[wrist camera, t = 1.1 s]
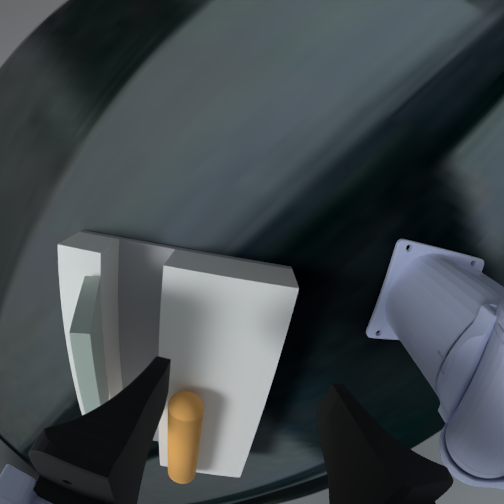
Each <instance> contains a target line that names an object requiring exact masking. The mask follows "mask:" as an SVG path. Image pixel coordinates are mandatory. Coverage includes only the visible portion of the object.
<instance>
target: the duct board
mask: <svg viewBox="0 0 504 504" xmlns="http://www.w3.org/2000/svg"><path fill="white" fill-rule="evenodd" d="M58 268H59V283H60V295H61V305H62V314H63V322H64V330H65V337H66V343H67V349H68V355H69V360H70V366H71V371H72V375H73V380H74V385H75V389H76V393H77V397H78V401H79V405H80V409H81V413H82V415H84V414H85V411H84V407H83V403H82V398H81V394H80V390H79V385H78V380H77V376H76V371H75V365H74V360H73V354H72V348H71V341H70V334H69V332H70V328H71V323H72V319H73V316H74V312H75V308H76V304H77V301H78V297H79V294H80V290H81V287H82V283H83V280H84V277H85V276H98V277H100V291H101V316H102V332H103V344H104V355H105V365H106V373H107V381H108V389H109V400H110V399H111V398H113V397H114V396H115V395H117V394H118V393H119V392H120V391H122V390H123V389H124V388H125V387H126V386H128V385H129V384H130V383H131V382H132V381H133V380H134V379H135V378H136V377H137V376H138V375H139V374H141V372H142V371H143V370H144V369H145V368H146V367H147V366H148V365H149V364H150V363H151V362H152V360H153V359H154V358H155V357H157V356H159V357H164V358H168V359H171V365H170V377H169V391H168V396H167V400H166V404H165V408H164V411H163V414H162V417H161V419H160V422H159V425H158V427H157V430H156V432H155V435H154V438H153V440H154V441H159V453H160V465H162V466H167V467H168V440H167V432H168V402H169V400H170V398H171V397H172V396H173V395H174V394H175V393H177V392H180V391H190V392H193V393H195V394H196V395H198V396H199V397H200V399H201V400H202V402H203V405H204V414H203V421H202V429H201V436H200V444H199V451H198V459H197V467H196V472H199V473H206V474H213V475H221V476H230V477H240V476H241V473H242V470H243V468H244V465H245V462H246V459H247V456H248V454H249V451H250V448H251V445H252V442H253V439H254V436H255V433H256V430H257V427H258V424H259V421H260V418H261V415H262V412H263V409H264V406H265V403H266V400H267V397H268V394H269V391H270V387H271V384H272V381H273V378H274V374H275V371H276V368H277V365H278V361H279V358H280V355H281V351H282V348H283V344H284V341H285V338H286V334H287V331H288V327H289V323H290V320H291V316H292V313H293V309H294V305H295V302H296V298H297V294H298V291H299V287H298V284H297V281H296V278H295V276H294V273H293V270H292V267H290V266H284V265H279V264H273V263H267V262H261V261H255V260H249V259H243V258H238V257H232V256H226V255H220V254H215V253H209V252H203V251H197V250H192V249H186V248H180V247H175V246H169V245H163V244H158V243H152V242H146V241H141V240H135V239H130V238H124V237H119V236H113V235H108V234H102V233H97V232H91V231H86V230H82V231H80V232H78V233H77V234H75V235H73V236H71V237H69V238H68V239H66V240H64V241H62V242H61V243H59V244H58Z"/></svg>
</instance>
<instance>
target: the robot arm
mask: <svg viewBox="0 0 504 504" xmlns="http://www.w3.org/2000/svg"><path fill="white" fill-rule="evenodd" d="M407 245H410V247H409V249H408V250H406V247H407ZM472 261H473V262H472ZM471 262H472V264H471ZM483 266H484V261H483V260H482V259H481V258H477V257H474V256H470V255H466V254H462V253H459V252H455V251H451V250H447V249H443V248H439V247H435V246H431V245H427V244H423V243H419V242H415V241H411V240H407V239H399V240H398V241H397V243H396V245H395V248H394V252H393V255H392V258H391V261H390V265H389V268H388V271H387V274H386V277H385V280H384V283H383V286H382V289H381V292H380V295H379V297H378V300H377V303H376V306H375V308H374V311H373V314H372V316H371V319H370V322H369V324H368V327H367V329H366V334H367V336H368V337H370V338H379V339H392V340H400V341H401V343H402V344H403V346H404V347H405V348H406V350H407V351H408V353H409V354H410V356H411V357H412V359H413V360H414V361H415V363H416V364H417V366H418V367H419V369H420V370H421V372H422V373H423V375H424V376H425V378H426V379H427V381H428V382H429V384H430V385H431V387H432V388H433V390H434V391H435V393H436V394H437V396H438V397H439V399H440V407H439V409H438V412H439V413H440V415H441V416H442V418H443V420H444V421H445V423H446V424H445V426H444V427H443V429H442V431H441V434H440V438H439V452H440V456H441V459H442V462H443V463H444V465H445V466H443V465H440V464H437V463H435V462H433V461H431V460H429V459H426V458H425V457H423V456H421V455H419V454H417V453H415V452H414V451H412V450H411V449H409V448H408V447H406V446H405V445H403V444H402V443H400V442H399V441H398V440H396V439H395V438H394V437H393V436H391V435H390V434H389V433H388V432H387V431H386V430H384V429H383V428H382V427H381V426H380V425H379V424H378V423H377V422H376V421H375V420H374V419H373V418H372V417H371V416H370V414H369V413H368V412H367V411H366V410H365V409H364V408H363V407H362V406H361V404H360V403H359V402H358V401H357V400H356V399H355V397H354V396H353V395H352V394H351V393H350V391H349V390H348V389H347V388H346V387H345V386H344V385H343V384H331V385H330V387H329V389H328V391H327V394H326V396H325V398H324V400H323V402H322V404H321V406H320V407H319V409H318V411H317V425H318V434H319V438H320V443H321V447H322V452H323V456H324V460H325V465H326V469H327V475H328V485H329V500H330V501H329V502H330V504H435V501H436V500H437V499H438V498H439V497H441V495H443V494H444V493H445V492H446V491H447V490H448V489H449V488H450V487H451V486H452V484H453V478H452V476H451V474H452V475H453V476H454V477H456V478H457V479H458V480H460V481H462V482H464V483H466V484H468V485H471V486H476V487H494V488H499V489H502V490H504V287H503V286H501V285H500V284H498V283H497V282H495V281H494V280H492V279H491V278H489V277H488V276H486V275H485V274H483V273H482V269H483ZM379 330H380V331H379ZM377 331H379V333H376V332H377ZM170 365H171V359H168V358H164V357H159V356H157V357H155V358H154V359H153V360H152V362H151V363H150V364H149V365H148V366H147V367H146V368H145V369H144V370H143V371H142V372H141V374H139V375H138V376H137V377H136V378H135V379H134V380H133V381H132V382H131V383H130V384H129V385H128V386H126V387H125V388H124V389H123V390H122V391H120V392H119V393H118V394H117V395H115V396H114V397H113V398H111V399H110V400H108V401H107V402H105V403H104V404H102V405H101V406H99V407H97V408H95V409H94V410H92V411H90V412H88V413H86V414H84V415H82V416H80V417H77V418H75V419H73V420H70V421H68V422H65V423H62V424H59V425H56V426H52V427H49V428H45V429H44V430H43V431H42V432H41V434H40V435H39V436H38V437H37V439H36V440H35V442H34V444H33V446H32V447H31V449H30V451H29V458H30V460H31V462H32V464H33V465H34V467H35V469H36V470H37V472H38V474H39V475H40V477H39V479H38V481H35V480H34V479H33V478H32V477H30V476H29V475H27V474H25V473H24V472H22V471H20V470H18V469H16V468H15V467H13V466H11V465H10V464H7V465H6V466H5V468H4V470H3V472H2V473H1V475H0V504H137V500H138V495H139V490H140V485H141V480H142V476H143V471H144V467H145V463H146V459H147V455H148V452H149V448H150V446H151V443H152V440H153V438H154V435H155V432H156V430H157V427H158V425H159V422H160V419H161V417H162V414H163V411H164V408H165V404H166V400H167V396H168V391H169V377H170ZM450 473H451V474H450Z"/></svg>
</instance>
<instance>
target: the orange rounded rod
mask: <svg viewBox="0 0 504 504" xmlns="http://www.w3.org/2000/svg"><path fill="white" fill-rule="evenodd" d="M203 414H204V405H203V402H202V400H201V399H200V397H199V396H198V395H196V394H195V393H193V392H190V391H180V392H177V393H175V394H174V395H173V396H172V397H171V398H170V400H169V402H168V432H167V440H168V474H169V476H170V478H171V479H172V480H173V481H175V482H177V483H180V484H186V483H189V482H191V481H192V480H193V479H194V477H195V474H196V467H197V459H198V451H199V444H200V436H201V429H202V421H203Z"/></svg>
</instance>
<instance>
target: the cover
mask: <svg viewBox="0 0 504 504" xmlns="http://www.w3.org/2000/svg"><path fill="white" fill-rule="evenodd" d="M69 334H70V341H71V348H72V354H73V360H74V365H75V371H76V376H77V380H78V385H79V390H80V394H81V398H82V403H83V407H84V411H85V414H86V413H88V412H90V411H92V410H94V409H95V408H97V407H99V406H101V405H102V404H104V403H105V402H107V401H108V400H109V389H108V381H107V373H106V365H105V355H104V344H103V332H102V316H101V291H100V277H98V276H85V277H84V280H83V283H82V287H81V290H80V294H79V297H78V301H77V304H76V308H75V312H74V316H73V319H72V323H71V328H70V332H69Z"/></svg>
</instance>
